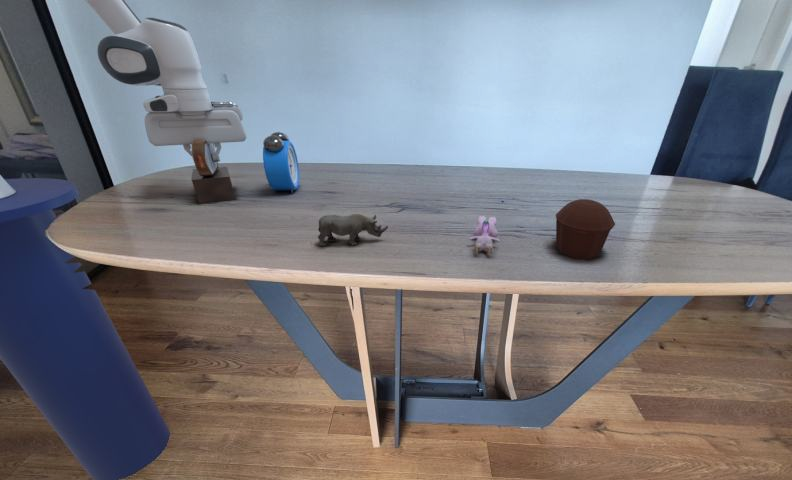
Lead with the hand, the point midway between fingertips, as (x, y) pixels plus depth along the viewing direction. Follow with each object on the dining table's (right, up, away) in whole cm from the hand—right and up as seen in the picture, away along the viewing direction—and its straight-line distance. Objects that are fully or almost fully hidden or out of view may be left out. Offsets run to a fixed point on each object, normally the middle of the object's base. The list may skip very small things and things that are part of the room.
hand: (207, 161), depth 94 cm
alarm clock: (+15, -5, +11) cm, 19 cm away
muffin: (+89, -24, -19) cm, 94 cm away
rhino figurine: (+43, -23, -19) cm, 52 cm away
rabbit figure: (+70, -22, -17) cm, 75 cm away
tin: (0, -3, +1) cm, 3 cm away
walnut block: (0, -8, +4) cm, 9 cm away
